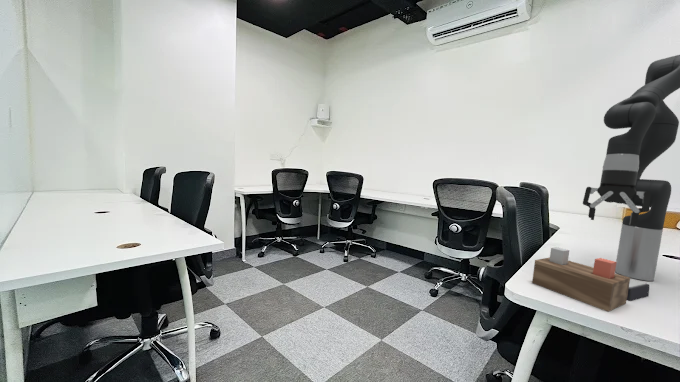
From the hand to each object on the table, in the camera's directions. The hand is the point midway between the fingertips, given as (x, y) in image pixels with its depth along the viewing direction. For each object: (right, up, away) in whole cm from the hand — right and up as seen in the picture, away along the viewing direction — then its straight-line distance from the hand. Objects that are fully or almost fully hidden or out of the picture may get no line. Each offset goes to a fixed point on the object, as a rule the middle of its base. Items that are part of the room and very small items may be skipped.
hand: (611, 222), depth 83 cm
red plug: (-15, -15, -12) cm, 25 cm away
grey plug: (-19, -14, -3) cm, 24 cm away
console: (-17, -19, -7) cm, 27 cm away
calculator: (-4, -20, -2) cm, 20 cm away
